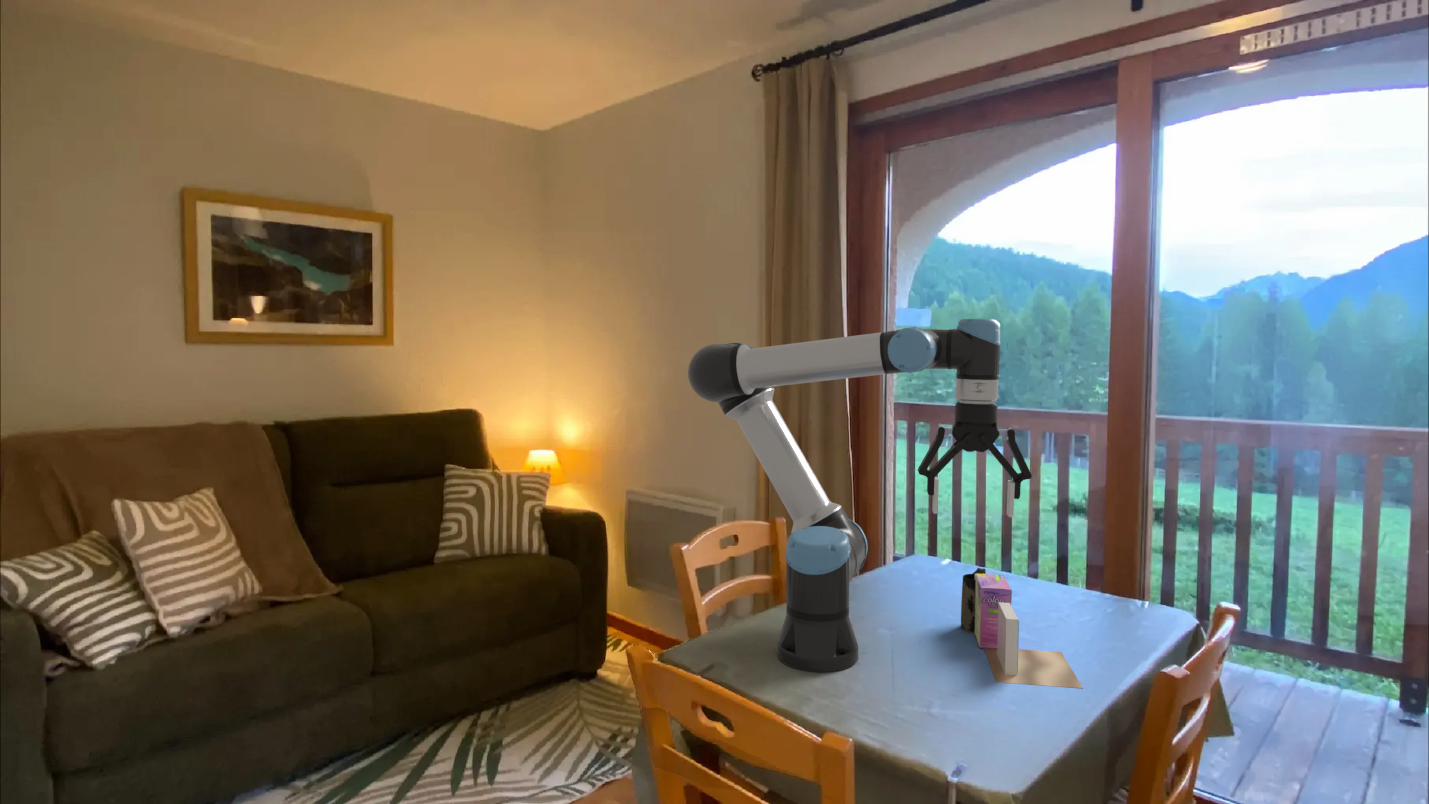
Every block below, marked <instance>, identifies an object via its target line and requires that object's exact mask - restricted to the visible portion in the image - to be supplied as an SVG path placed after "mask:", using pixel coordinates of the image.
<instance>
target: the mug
mask: <svg viewBox="0 0 1429 804" xmlns="http://www.w3.org/2000/svg"><path fill="white" fill-rule="evenodd" d="M975 574H987V572H986V568H981V567H977V568H976V570H975V571H974V572H972V573H966V574H964V575H962V583H961V584H962V585H961V586H962V587H961V601H960V602H961V605H960V608H961V609H960V629H961V630H962V631H964V632H966V633H971V634H975V594H976V580H975Z"/></svg>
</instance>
